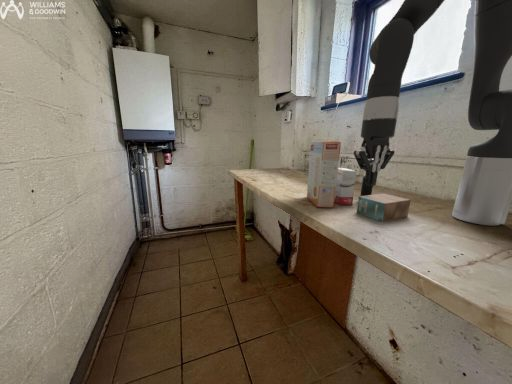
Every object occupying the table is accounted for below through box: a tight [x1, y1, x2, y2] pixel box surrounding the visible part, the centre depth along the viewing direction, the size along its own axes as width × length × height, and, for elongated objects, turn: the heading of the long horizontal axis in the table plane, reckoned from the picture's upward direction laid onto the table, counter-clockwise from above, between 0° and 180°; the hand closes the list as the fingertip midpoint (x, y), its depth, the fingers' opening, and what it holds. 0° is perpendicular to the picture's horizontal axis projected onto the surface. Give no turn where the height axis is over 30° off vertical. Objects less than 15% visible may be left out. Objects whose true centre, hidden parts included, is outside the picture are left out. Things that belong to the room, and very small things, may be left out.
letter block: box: [356, 193, 412, 222], centre depth 60 cm, size 5×8×11 cm
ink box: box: [334, 167, 357, 206], centre depth 72 cm, size 9×5×12 cm, turn 179°
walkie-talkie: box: [359, 175, 374, 196], centre depth 70 cm, size 5×3×15 cm
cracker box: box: [306, 140, 342, 209], centre depth 70 cm, size 14×6×21 cm, turn 179°
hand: (369, 185), depth 56 cm, fingers closed
